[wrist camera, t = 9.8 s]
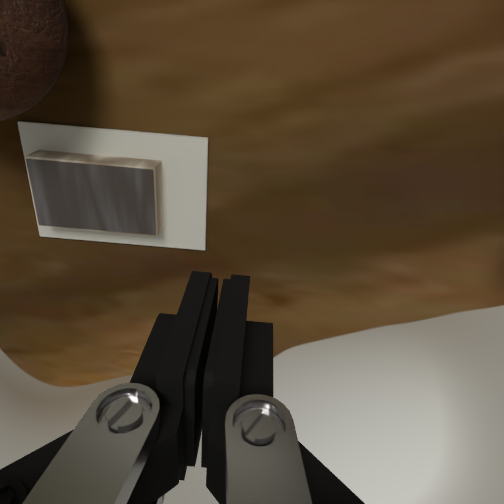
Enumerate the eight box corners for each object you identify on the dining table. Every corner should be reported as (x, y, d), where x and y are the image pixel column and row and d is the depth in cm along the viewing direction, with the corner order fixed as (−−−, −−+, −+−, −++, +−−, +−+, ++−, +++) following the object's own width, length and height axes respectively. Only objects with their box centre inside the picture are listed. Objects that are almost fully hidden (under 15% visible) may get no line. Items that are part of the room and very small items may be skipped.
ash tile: (154, 168, 35) (23, 156, 35) (157, 237, 39) (37, 226, 38) (161, 160, 38) (38, 149, 38) (163, 226, 41) (50, 216, 41)
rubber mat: (208, 137, 37) (207, 138, 36) (205, 248, 42) (205, 250, 42) (19, 121, 37) (17, 121, 36) (41, 234, 42) (39, 236, 42)
